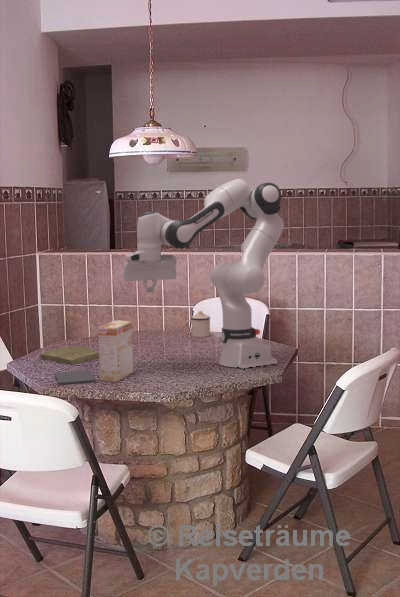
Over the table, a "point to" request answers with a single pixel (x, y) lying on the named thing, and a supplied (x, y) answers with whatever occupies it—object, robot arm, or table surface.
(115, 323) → the coffeecake box
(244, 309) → the robot arm
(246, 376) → the table surface
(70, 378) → the mat
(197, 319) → the teacup with lid
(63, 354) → the decorative tile
